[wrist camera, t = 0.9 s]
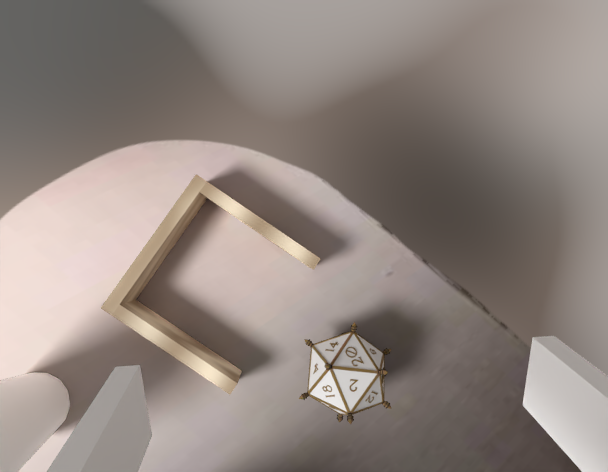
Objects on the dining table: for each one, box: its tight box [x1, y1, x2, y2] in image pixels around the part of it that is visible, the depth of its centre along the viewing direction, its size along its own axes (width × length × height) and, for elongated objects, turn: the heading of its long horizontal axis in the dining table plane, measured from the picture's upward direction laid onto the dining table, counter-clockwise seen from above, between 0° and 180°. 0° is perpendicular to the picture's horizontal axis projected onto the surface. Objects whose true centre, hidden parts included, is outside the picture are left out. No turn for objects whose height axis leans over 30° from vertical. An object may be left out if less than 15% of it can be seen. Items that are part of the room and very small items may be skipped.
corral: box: [101, 175, 320, 394], centre depth 38 cm, size 14×15×4 cm
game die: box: [299, 322, 391, 424], centre depth 36 cm, size 9×8×10 cm
